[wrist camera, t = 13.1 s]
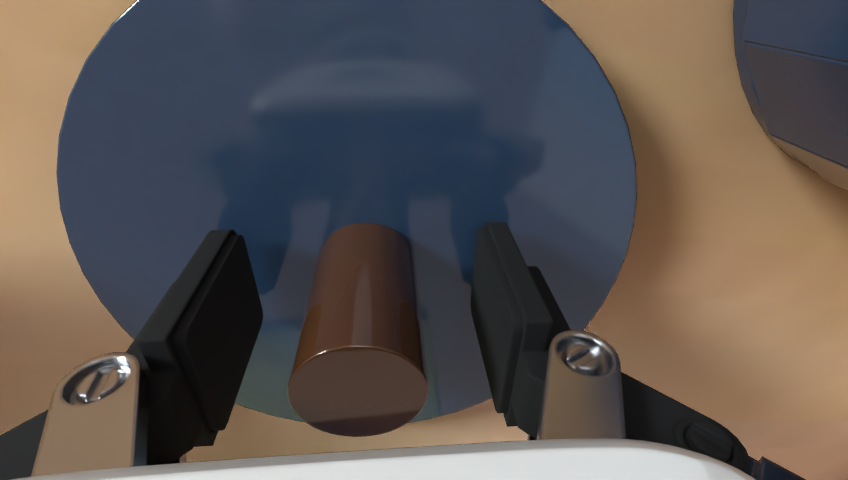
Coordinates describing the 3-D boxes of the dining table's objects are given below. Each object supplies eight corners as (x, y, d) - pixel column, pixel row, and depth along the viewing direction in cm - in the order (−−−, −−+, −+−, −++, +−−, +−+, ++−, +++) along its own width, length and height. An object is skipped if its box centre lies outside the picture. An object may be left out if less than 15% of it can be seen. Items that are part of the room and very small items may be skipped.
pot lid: (-76, 50, 9) (-532, 131, 5) (620, -172, 8) (924, -354, 4) (250, 436, 18) (203, 603, 13) (619, 351, 17) (710, 500, 12)
